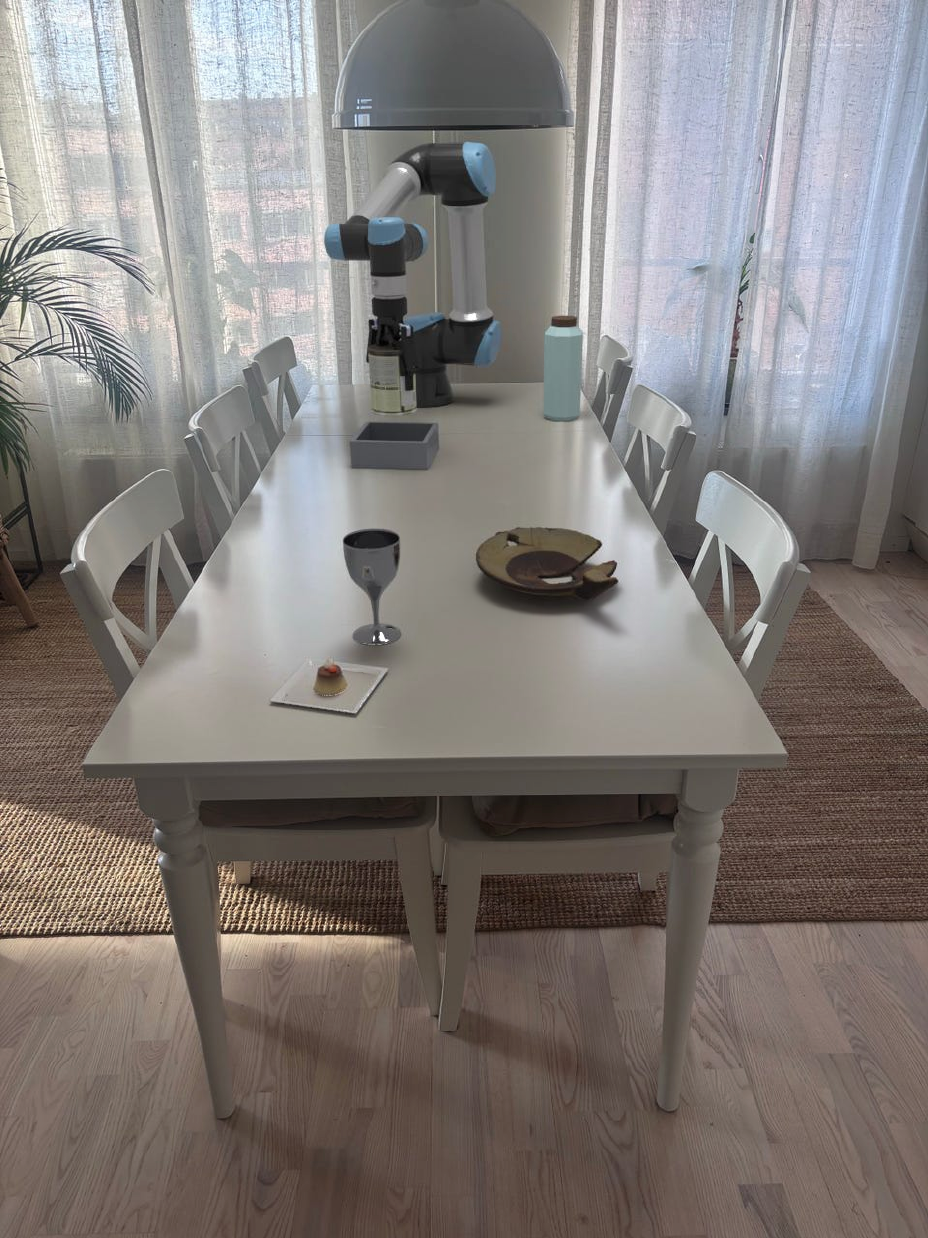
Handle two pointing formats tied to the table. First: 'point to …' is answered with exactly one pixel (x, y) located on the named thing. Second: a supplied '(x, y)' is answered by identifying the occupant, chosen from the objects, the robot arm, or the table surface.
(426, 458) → the bin
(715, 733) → the table surface
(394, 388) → the coffee can
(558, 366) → the water bottle
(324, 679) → the dessert
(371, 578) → the wine glass
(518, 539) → the brown shallow dish
